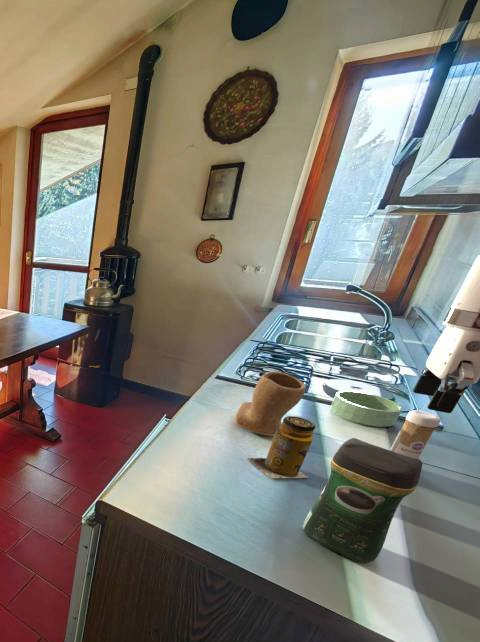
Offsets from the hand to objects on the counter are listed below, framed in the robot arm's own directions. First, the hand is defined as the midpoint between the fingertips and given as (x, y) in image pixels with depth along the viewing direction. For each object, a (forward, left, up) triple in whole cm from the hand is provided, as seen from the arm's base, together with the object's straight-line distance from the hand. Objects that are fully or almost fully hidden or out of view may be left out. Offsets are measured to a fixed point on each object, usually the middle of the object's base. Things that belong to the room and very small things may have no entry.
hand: (430, 402), depth 80 cm
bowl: (+2, -28, -16) cm, 33 cm away
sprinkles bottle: (0, 0, -17) cm, 17 cm away
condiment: (+22, +16, -17) cm, 32 cm away
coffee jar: (+14, +36, -17) cm, 42 cm away
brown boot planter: (+25, -5, -17) cm, 30 cm away
